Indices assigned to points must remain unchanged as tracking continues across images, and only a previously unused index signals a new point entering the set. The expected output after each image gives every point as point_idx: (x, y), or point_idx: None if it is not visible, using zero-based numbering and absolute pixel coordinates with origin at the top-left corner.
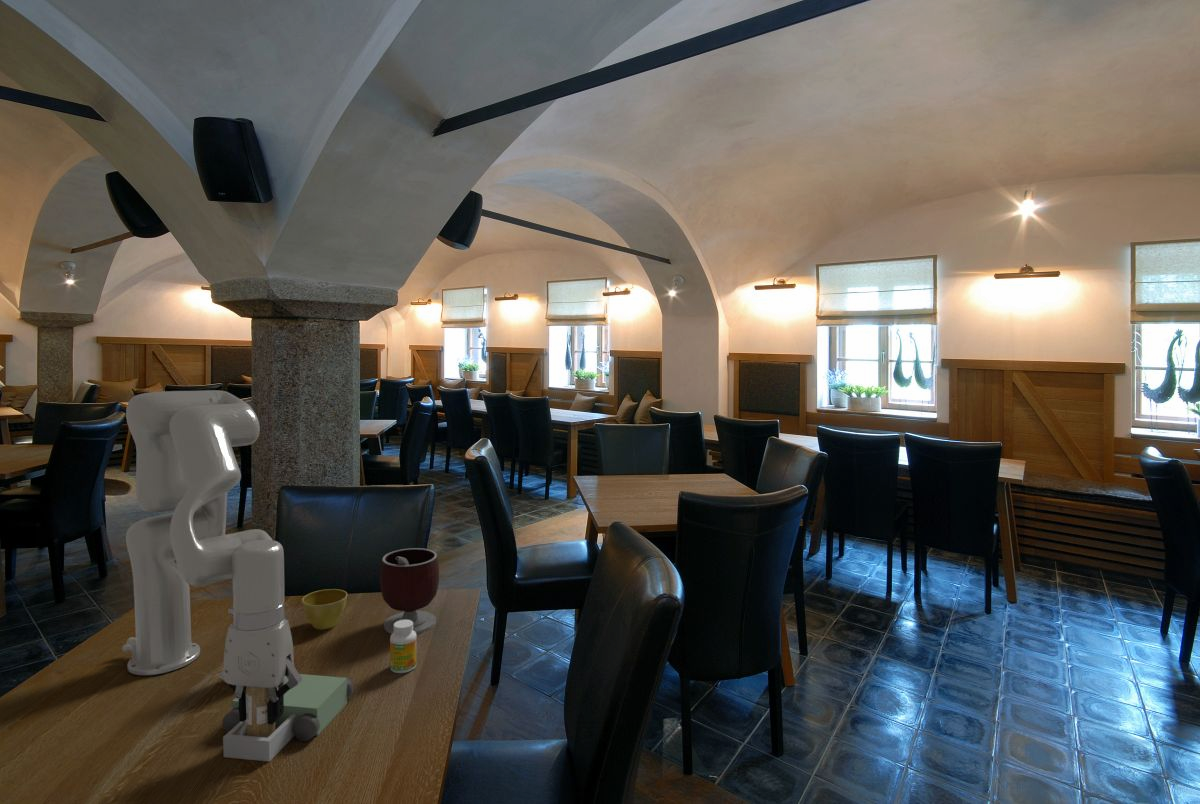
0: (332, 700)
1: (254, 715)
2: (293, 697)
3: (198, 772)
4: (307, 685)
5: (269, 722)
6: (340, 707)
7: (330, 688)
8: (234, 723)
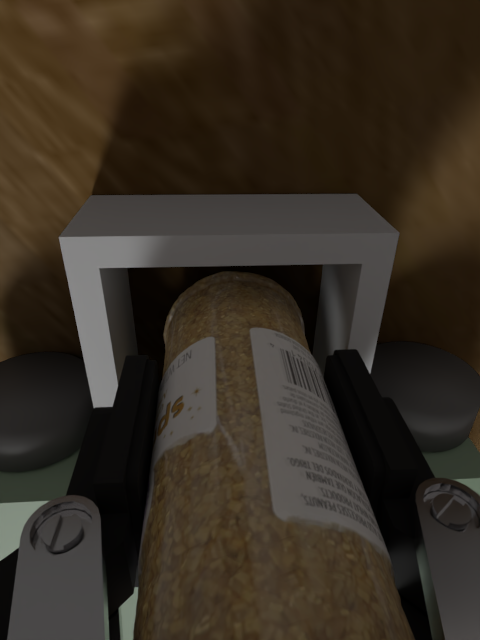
0: None
1: (233, 375)
2: None
3: (425, 51)
4: None
5: (135, 361)
6: None
7: None
8: (414, 374)
